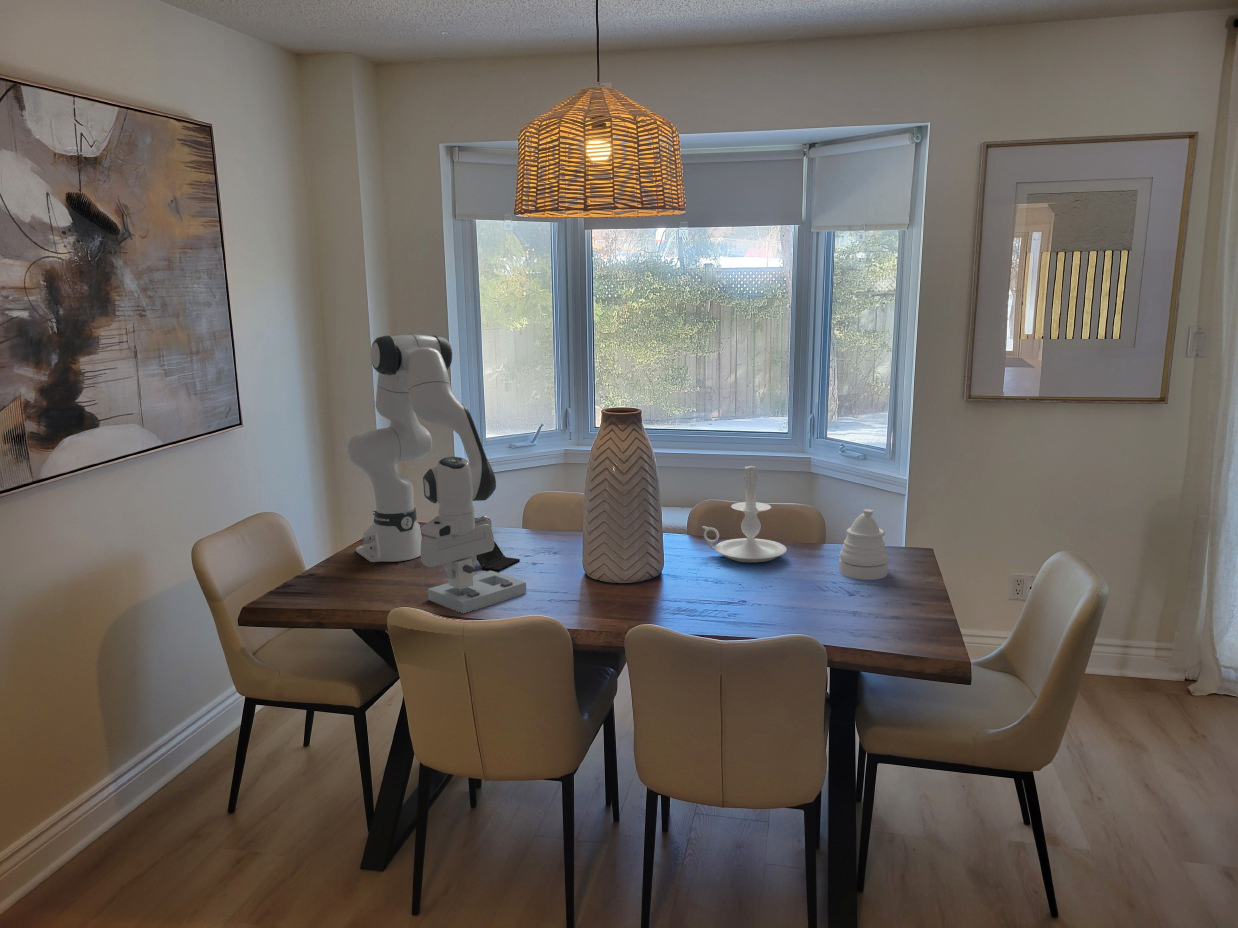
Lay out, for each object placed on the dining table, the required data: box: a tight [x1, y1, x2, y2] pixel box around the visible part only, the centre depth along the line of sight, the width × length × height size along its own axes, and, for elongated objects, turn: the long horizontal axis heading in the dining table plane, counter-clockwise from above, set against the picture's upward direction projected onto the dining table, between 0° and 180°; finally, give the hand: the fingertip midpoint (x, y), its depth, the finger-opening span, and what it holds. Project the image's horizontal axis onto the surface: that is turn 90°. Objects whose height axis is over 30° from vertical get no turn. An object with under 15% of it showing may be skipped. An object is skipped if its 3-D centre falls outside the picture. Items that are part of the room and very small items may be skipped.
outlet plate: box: [427, 570, 527, 615], centre depth 222 cm, size 15×20×4 cm
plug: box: [447, 558, 474, 591], centre depth 216 cm, size 7×4×8 cm, turn 46°
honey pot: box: [838, 508, 889, 581], centre depth 234 cm, size 13×13×18 cm
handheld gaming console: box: [476, 540, 521, 573], centre depth 248 cm, size 12×7×10 cm
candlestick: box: [701, 463, 787, 564], centre depth 248 cm, size 21×25×28 cm
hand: (460, 575), depth 217 cm, fingers closed on plug, 4 cm apart
